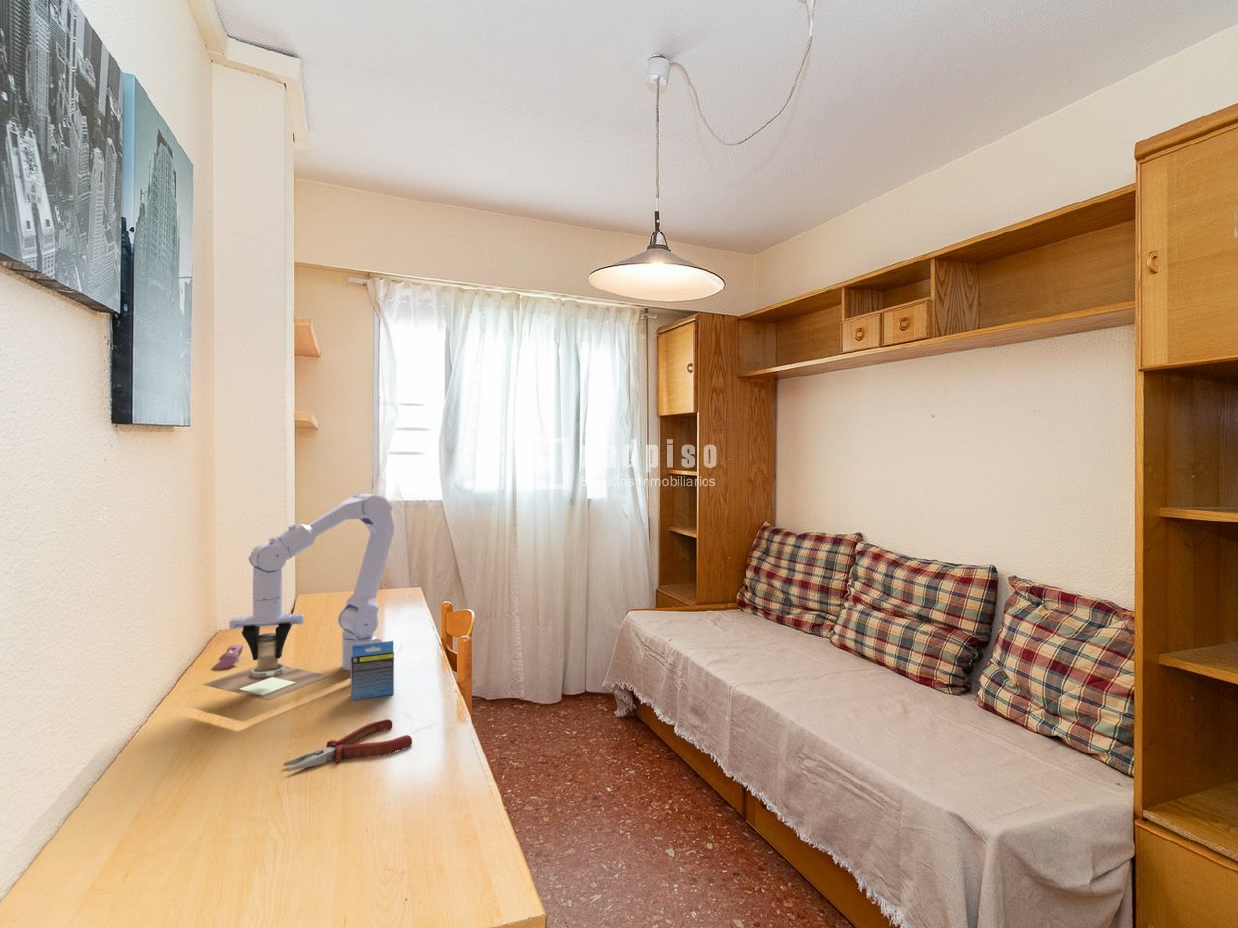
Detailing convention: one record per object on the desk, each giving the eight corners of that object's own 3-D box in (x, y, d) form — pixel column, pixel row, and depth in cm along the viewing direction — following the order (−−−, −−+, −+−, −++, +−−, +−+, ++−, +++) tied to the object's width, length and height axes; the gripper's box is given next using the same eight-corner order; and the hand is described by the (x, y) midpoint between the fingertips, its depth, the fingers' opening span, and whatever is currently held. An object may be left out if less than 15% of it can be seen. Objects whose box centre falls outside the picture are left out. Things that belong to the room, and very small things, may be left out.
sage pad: (296, 683, 139) (296, 682, 139) (263, 696, 132) (263, 694, 132) (272, 678, 143) (272, 676, 143) (238, 690, 135) (238, 688, 135)
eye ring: (291, 670, 148) (291, 665, 148) (264, 680, 141) (264, 674, 141) (271, 666, 151) (271, 661, 151) (244, 675, 144) (244, 670, 144)
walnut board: (331, 681, 145) (331, 675, 145) (268, 706, 130) (268, 699, 130) (267, 668, 154) (267, 662, 154) (202, 690, 139) (202, 684, 139)
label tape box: (392, 689, 140) (392, 635, 140) (394, 695, 137) (394, 640, 137) (350, 695, 137) (350, 640, 137) (351, 701, 133) (351, 645, 133)
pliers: (276, 761, 108) (276, 747, 108) (390, 728, 121) (390, 715, 121) (294, 788, 99) (294, 772, 99) (414, 749, 113) (414, 735, 113)
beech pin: (281, 664, 138) (281, 634, 138) (265, 670, 135) (265, 638, 135) (269, 662, 140) (269, 631, 140) (253, 667, 136) (253, 636, 136)
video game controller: (227, 681, 149) (242, 654, 150) (207, 675, 148) (223, 647, 149) (235, 668, 158) (249, 642, 159) (217, 662, 157) (231, 636, 158)
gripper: (306, 591, 143) (306, 649, 143) (236, 595, 139) (236, 655, 139) (300, 598, 136) (300, 659, 137) (226, 602, 132) (226, 665, 132)
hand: (267, 657), depth 137 cm, fingers closed on beech pin, 4 cm apart
